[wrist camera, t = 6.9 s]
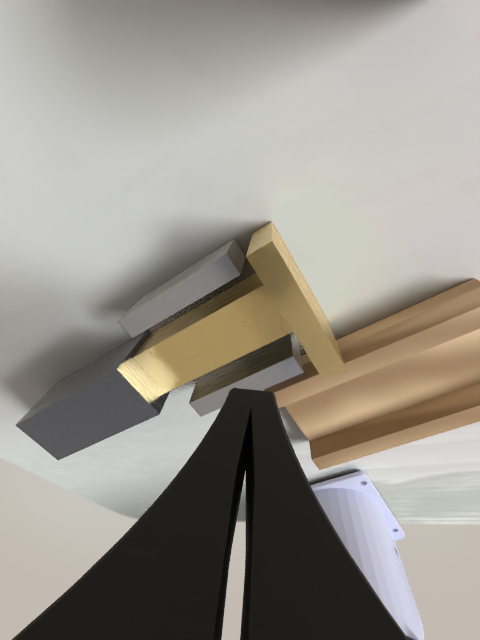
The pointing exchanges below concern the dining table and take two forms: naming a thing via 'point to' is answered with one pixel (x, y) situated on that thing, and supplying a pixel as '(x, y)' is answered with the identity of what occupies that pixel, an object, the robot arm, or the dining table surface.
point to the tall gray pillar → (95, 402)
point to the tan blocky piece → (244, 321)
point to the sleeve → (243, 372)
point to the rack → (393, 381)
